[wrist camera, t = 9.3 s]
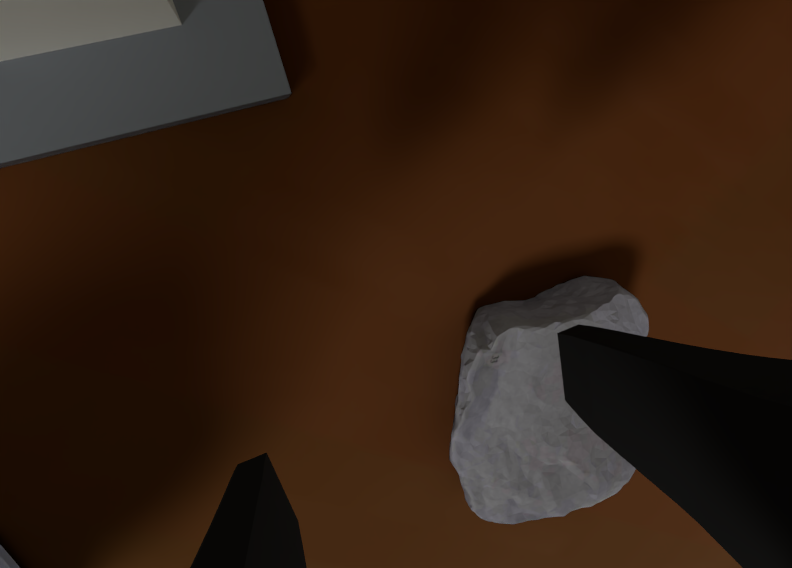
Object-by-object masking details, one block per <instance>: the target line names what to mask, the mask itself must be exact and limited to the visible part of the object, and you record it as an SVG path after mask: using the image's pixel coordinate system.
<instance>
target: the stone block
mask: <svg viewBox="0 0 792 568" xmlns="http://www.w3.org/2000/svg"><path fill="white" fill-rule="evenodd" d="M578 324H579V325H587V326H594V327H600V328H605V329H610V330H615V331H620V332H625V333H630V334H635V335H640V336H645V337H646V336H647V335H648V330H649V323H648V315H647V314H646V312H645V311H644V309H643V308H642V306H641V304H640V302H639V301H638V299H637V298H636V297H635V296H634V295H632V294H631V293H630V292H628V291H627V290H625V289H624V288H622V287H621V286H620V285H619V284H618V283H617V282H616V281H614V280H612V279H606V278H599V277H590V276H582V277H579V278H575V279H572V280H569V281H567V282H565V283H563V284H558V285H556V286H555V287H553V288H551V289H548V290H546V291H544V292H542V293H540V294H538V295H537V296H536V297H534V298H531V299H527V300H523V301H502V302H498V303H495V304H490V305H485V306H483V307H481V308H478V310H477V312H476V313H475V316H474V318H473V320H472V323H471V325H470V327H469V329H468V332H467V335H466V340H465V345H464V348H463V351H462V354H461V360H462V361H461V369H460V374H459V390H458V395H457V396H456V402H455V409H456V410H455V417H454V421H453V428H452V435H451V442H450V455H449V459H450V461H451V463H452V464H453V466H454V467H455V469H456V470H457V472H458V474H459V477H460V482H461V485H462V488H463V490H464V494H465V500H466V501H467V503H468V505H469V507H470V508H471V510H472V511H474V512H475V513H476V514H477V515H478V516H479V517H480V518H481V519H484V520H487V521H489V522H490V521H493V522H494V523H504V524H516V523H520V522H524V521H528V520H537V519H541V518H546V517H556V516H565V515H566V514H568V513H569V512H570V511H573V510H577V509H579V508H583V507H591V506H593V505H595V504H596V503H599V502H601V501H603V500H604V499H606V498H608V497H610V496H612V495H614V494H616V493H617V492H618V491H619V490H620V489H621V488H622V486H623V485H624V484H626V483H627V482H628V481H629V480H630V478H631V476H632V475H633V473H634V471H635V469H636V468H635V467H633V466H632V465H631V464H630V463H629V462H627V461H626V460H625V459H624V458H623V457H622V456H620V455H619V454H618V453H617V452H616V451H615V450H613V449H612V448H611V447H610V446H609V445H608V444H606V443H605V442H604V441H603V440H602V439H601V438H600V437H599V436H597V435H596V434H595V433H594V432H593V431H592V430H591V429H590V428H589V427H588V426H587V424H586V423H585V422H584V421H583V420H582V419H581V418H580V417H579V416H578V415H577V414H576V412H575V411H574V410H573V409H572V408H571V407H570V406H569V404H568V403H567V402H566V401H565V396H564V387H563V379H562V370H561V361H560V352H559V344H558V335H557V333H559V332H561V331H564V330H566V329H568V328H571V327H573V326H576V325H578Z"/></svg>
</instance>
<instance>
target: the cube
mask: <svg viewBox="0 0 792 568" xmlns="http://www.w3.org/2000/svg"><path fill="white" fill-rule="evenodd" d="M179 25H182V24H181V21H180V19H179V16H178V13H177V11H176V8H175V5H174V3H173V0H0V62H1V61H5V60H10V59H15V58H20V57H25V56H30V55H35V54H40V53H45V52H50V51H55V50H60V49H65V48H70V47H75V46H80V45H85V44H90V43H95V42H100V41H105V40H110V39H115V38H120V37H125V36H130V35H135V34H139V33H144V32H149V31H154V30H159V29H164V28H169V27H174V26H179Z"/></svg>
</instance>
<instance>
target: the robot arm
mask: <svg viewBox="0 0 792 568" xmlns="http://www.w3.org/2000/svg"><path fill="white" fill-rule="evenodd" d="M557 335H558V344H559V352H560V361H561V370H562V379H563V387H564V396H565V401H566V402H567V403H568V404H569V406H570V407H571V408H572V409H573V410H574V411H575V412H576V414H577V415H578V416H579V417H580V418H581V419H582V420H583V421H584V422H585V423H586V424H587V426H588V427H589V428H590V429H591V430H592V431H593V432H594V433H595V434H596V435H597V436H599V437H600V438H601V439H602V440H603V441H604V442H605V443H606V444H608V445H609V446H610V447H611V448H612V449H613V450H615V451H616V452H617V453H618V454H619V455H620V456H622V457H623V458H624V459H625V460H626V461H627V462H629V463H630V464H631V465H632V466H633V467H635V468H636V469H637V470H638V471H639V472H640V473H642V474H643V475H644V476H645V477H646V478H647V479H649V480H650V481H651V482H652V483H653V484H655V485H656V486H657V487H658V488H659V489H660V490H662V491H663V492H664V493H665V494H666V495H668V496H669V497H670V498H671V499H672V500H673V501H675V502H676V503H677V504H678V505H679V506H680V507H681V508H683V509H684V510H685V511H686V512H687V513H688V514H689V515H690V516H691V517H692V518H694V519H695V520H696V521H697V522H698V523H699V524H700V525H701V526H702V527H703V528H704V529H705V530H706V531H707V532H708V533H709V534H710V535H711V536H712V537H713V538H714V539H715V540H716V541H717V542H718V543H719V544H720V545H721V546H722V547H723V548H724V549H725V550H726V551H727V552H728V553H729V554H730V555H731V556H732V557H733V558H734V559H735V560H736V561H737V562H738V563H739V564H740V565H741V566H742V567H743V568H792V360H787V359H778V358H768V357H760V356H753V355H746V354H739V353H733V352H726V351H720V350H714V349H708V348H702V347H696V346H691V345H685V344H680V343H675V342H670V341H665V340H660V339H655V338H650V337H645V336H640V335H635V334H630V333H625V332H620V331H615V330H610V329H605V328H600V327H594V326H587V325H579V324H578V325H576V326H573V327H571V328H568V329H566V330H564V331H561V332H559V333H557ZM0 568H20V567H19V566H18V565H17V563H16V562H15V561H14V560H13V559H12V557H11V556H10V555H9V554H8V553H7V552H6V550H5V549H4V548H3V547H2V546H1V545H0ZM190 568H306V562H305V556H304V551H303V545H302V540H301V534H300V529H299V524H298V520H297V518H296V516H295V513H294V511H293V509H292V507H291V505H290V503H289V500H288V498H287V496H286V494H285V492H284V490H283V487H282V485H281V483H280V481H279V479H278V477H277V474H276V472H275V470H274V468H273V466H272V464H271V461H270V459H269V457H268V455H267V453H265V454H262V455H260V456H257V457H255V458H252V459H250V460H248V461H245V462H243V463H240V464H238V465H237V467H236V469H235V470H234V473H233V475H232V477H231V479H230V482H229V484H228V486H227V489H226V491H225V493H224V496H223V498H222V500H221V502H220V505H219V507H218V509H217V511H216V514H215V516H214V518H213V520H212V523H211V525H210V527H209V529H208V531H207V534H206V536H205V538H204V540H203V542H202V544H201V546H200V548H199V550H198V553H197V555H196V557H195V559H194V561H193V563H192V565H191V567H190Z"/></svg>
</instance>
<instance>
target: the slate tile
mask: <svg viewBox="0 0 792 568" xmlns="http://www.w3.org/2000/svg"><path fill="white" fill-rule="evenodd" d="M173 3H174V5H175V8H176V11H177V13H178V16H179V19H180V21H181V24H182V25H179V26H174V27H169V28H164V29H159V30H154V31H149V32H144V33H139V34H135V35H130V36H125V37H120V38H115V39H110V40H105V41H100V42H95V43H90V44H85V45H80V46H75V47H70V48H65V49H60V50H55V51H50V52H45V53H40V54H35V55H30V56H25V57H20V58H15V59H10V60H5V61H1V62H0V168H3V167H7V166H11V165H15V164H19V163H24V162H28V161H32V160H36V159H40V158H44V157H48V156H52V155H56V154H61V153H65V152H69V151H73V150H77V149H81V148H85V147H89V146H93V145H97V144H102V143H106V142H110V141H114V140H118V139H122V138H126V137H130V136H134V135H139V134H143V133H147V132H151V131H155V130H159V129H163V128H167V127H171V126H175V125H180V124H184V123H188V122H192V121H196V120H200V119H204V118H208V117H212V116H217V115H221V114H225V113H229V112H233V111H237V110H241V109H245V108H249V107H253V106H258V105H262V104H266V103H270V102H274V101H278V100H282V99H286V98H289V96H290V95H291V90H290V87H289V83H288V80H287V77H286V74H285V70H284V67H283V64H282V61H281V57H280V54H279V51H278V48H277V44H276V41H275V38H274V35H273V31H272V28H271V25H270V22H269V18H268V15H267V12H266V9H265V5H264V2H263V0H173Z"/></svg>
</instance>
